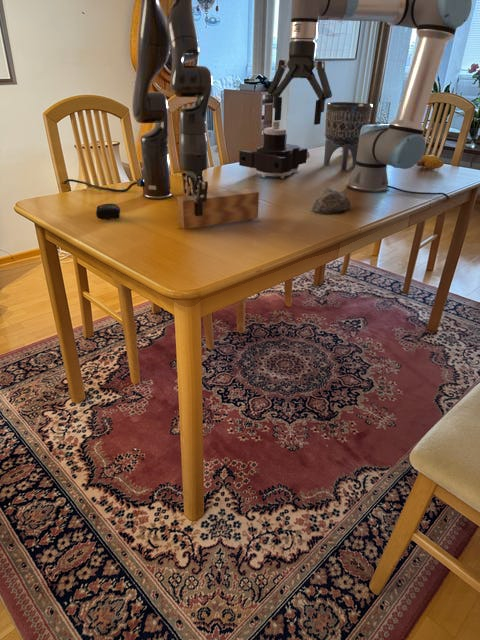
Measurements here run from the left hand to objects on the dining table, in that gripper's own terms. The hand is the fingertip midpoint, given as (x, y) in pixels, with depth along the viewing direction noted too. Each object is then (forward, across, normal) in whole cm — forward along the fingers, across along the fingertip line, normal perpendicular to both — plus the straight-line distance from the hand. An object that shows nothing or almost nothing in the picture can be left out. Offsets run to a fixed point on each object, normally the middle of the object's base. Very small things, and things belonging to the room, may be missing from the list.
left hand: (195, 212), depth 130 cm
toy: (+4, -36, +131) cm, 136 cm away
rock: (+4, +2, +48) cm, 48 cm away
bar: (+3, 0, +8) cm, 8 cm away
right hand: (-22, -6, +37) cm, 43 cm away
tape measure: (+5, -17, -21) cm, 28 cm away
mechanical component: (+4, -52, +60) cm, 80 cm away
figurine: (+4, -77, +117) cm, 140 cm away
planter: (+4, -53, +94) cm, 108 cm away
